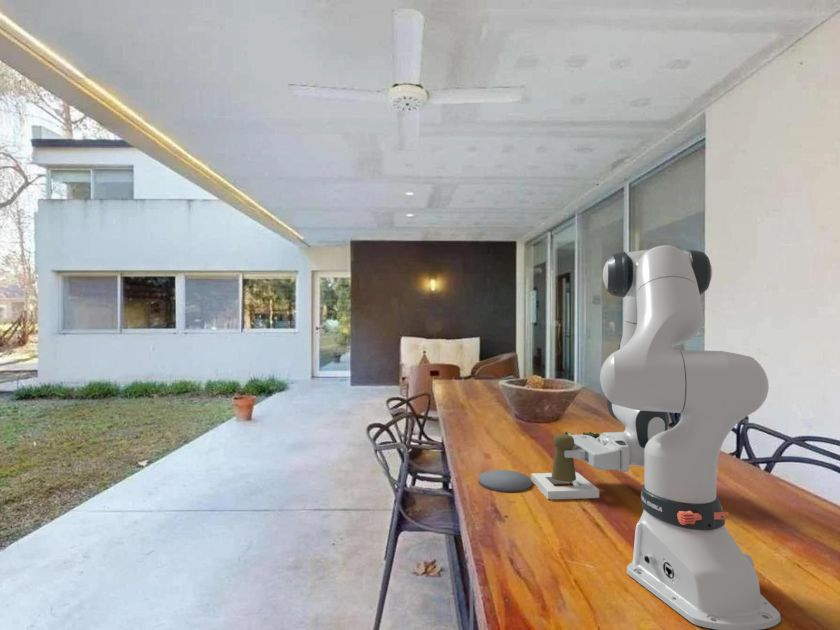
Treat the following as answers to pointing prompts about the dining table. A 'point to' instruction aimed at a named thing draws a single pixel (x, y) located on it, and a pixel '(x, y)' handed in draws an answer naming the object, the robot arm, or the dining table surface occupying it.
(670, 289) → the robot arm
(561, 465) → the olive pawn
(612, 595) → the dining table surface
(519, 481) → the charcoal mat
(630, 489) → the dining table surface
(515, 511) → the dining table surface
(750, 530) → the dining table surface
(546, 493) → the white square frame
